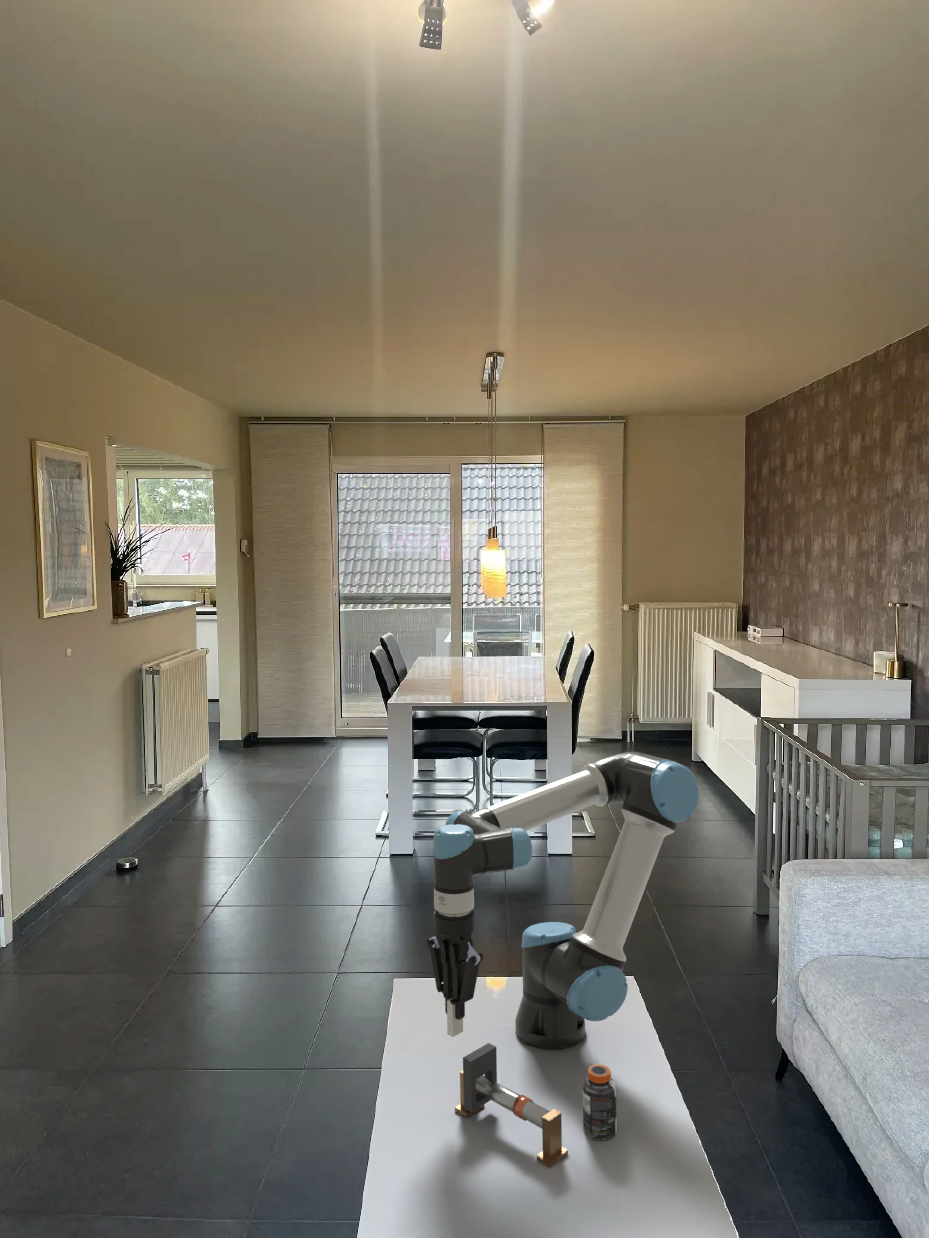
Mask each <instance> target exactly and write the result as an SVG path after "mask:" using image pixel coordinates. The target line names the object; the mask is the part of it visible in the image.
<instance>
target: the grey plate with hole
mask: <svg viewBox="0 0 929 1238" xmlns="http://www.w3.org/2000/svg"><path fill="white" fill-rule="evenodd" d="M497 1057H498V1056H497V1046H496V1045H494V1044H491V1043H489V1042H488V1043H486V1044H484V1045H483V1046H481V1047H478V1049H475V1050H474V1051H471V1052H470V1053H469V1054H467V1055H465V1056H463V1057H462V1070H463V1090H464V1108H465V1109H467V1110H469V1111H470V1112H473V1111H475V1110H476V1109H478V1108H479V1107H481V1106H482V1105H484V1106H485V1105H486V1104H487V1103H489V1102H490V1101H491V1100H490V1099H488V1098H486V1097H485V1096H483V1095H481V1094H479V1093H476V1079H477V1078H479V1077H481V1076H482V1075H484V1076H486V1077H487V1078H489V1079H491V1080H493V1081H495V1082H497V1083H498V1068H497V1066H498V1065H497V1060H498V1059H497Z"/></svg>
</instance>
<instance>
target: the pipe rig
mask: <svg viewBox="0 0 929 1238" xmlns="http://www.w3.org/2000/svg"><path fill="white" fill-rule="evenodd" d="M459 1092H460V1093H459V1094H460V1095H459V1097H460V1099H459V1101H460V1103H459V1104H457V1105H455V1106H454V1112H456V1113H457V1114H459V1115H461V1116H462V1117H464V1118H465V1119H467V1118H469V1117H470V1116H472V1115H473V1114H475V1113H476V1112H479V1110H481V1109H483V1108H484V1107H485V1104H484V1105H482V1106H481V1107H479V1108H478V1109H476V1110H475V1111H473V1112H470V1111H469V1110H467V1109H465V1108H464V1090H463V1069H462V1070H461V1071H459ZM476 1093H479V1094H481V1095H483V1096H485V1097H486V1098H488V1099H490V1101H491V1102H493V1103H495V1104H497V1105H498V1106H500V1107H502V1108H504V1109H506V1110H507V1111H510V1112H511V1113H513V1115H514V1116H516V1117H517V1118H519V1119H521V1120H523V1121H528V1122H529V1123H531V1124H532V1125H535V1126H536V1127H538V1128H539V1129H541V1130H542V1131H541V1132H542V1134H541V1135H542V1140H541V1141H542V1151H540V1152H539V1153H538V1154H537V1155H536V1161H538V1162H539V1163H541V1164H542V1165H544V1166H546V1167H547V1168H549V1169H551V1168H553V1167H554V1166H556V1164H558V1163H559V1162H561V1160H563V1159H564V1158H565V1157H567V1156H568V1155H569V1149H567V1148H565V1147H563V1138H562V1137H563V1136H562V1135H563V1133H562V1131H563V1130H562V1124H563V1123H562V1111H559V1110H557V1109H556V1108H553V1109H551V1110H549V1109H547V1108H544V1107H543V1106H541V1105H539V1104H537V1103H536V1102H534V1100H533V1099H532V1098H530V1097H528V1096H525V1094H519V1093H517V1092H516V1091H513V1090H512V1089H509V1088H507V1087H506V1086H504V1085H502V1084H501V1083H499V1082H498V1081H497V1082H495V1081H493V1080H491V1079H489V1078H487V1077H486V1076H485V1074H484V1075H482V1076H481V1077H479V1078H477V1079H476Z"/></svg>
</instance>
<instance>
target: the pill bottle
mask: <svg viewBox="0 0 929 1238" xmlns="http://www.w3.org/2000/svg"><path fill="white" fill-rule="evenodd" d="M611 1073H612V1072H611V1068H610V1067H608V1066H606V1065H604V1064H598V1063H597V1064H593V1065H590V1066H589V1067H588V1069H587V1076H586V1077H585V1078H584V1080H583V1082H582V1114H583V1115H582V1118H583V1119H582V1122H583V1123H582V1124H583V1132H584V1133H585V1135H586V1136H588V1137H589V1138H591V1139H593V1140H595V1141H608V1140H611V1139H613V1138H614V1137H615V1136H616V1135H617V1131H618V1121H617V1120H618V1119H617V1118H618V1115H617V1112H618V1110H617V1109H618V1108H617V1084H616V1083H615V1081H614V1079H612V1075H611Z"/></svg>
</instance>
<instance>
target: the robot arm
mask: <svg viewBox="0 0 929 1238" xmlns="http://www.w3.org/2000/svg"><path fill="white" fill-rule="evenodd" d="M696 779H697V778H696V776H695V775H694V774H693V772H692V771H691V770H690V768H689V767H687V766H685V765H683V764H681V763H678V762H677V761H675V760H674V761H673V760H671V759H666V758H663V757H658V756H654V755H651V754H647V753H644V752H641V751H640V752H639V751H626V752H621V753H616V754H613V755H609V756H606V757H603V758H601V759H597V760H595V761H592V762H590V763H587V764H584V765H583V767H582V768H581V770H580V771H579V772H577V773H574V774H571V775H569V776H565V777H562V778H561V779H559V780H556V781H553V782H550V783H548V784H545V785H542V786H540V787H537V788H535V789H531V790H529V791H526V792H524V793H521V794H518V795H515V796H513V797H511V798H508V799H506V800H503V801H500V802H498V803H494V804H493V805H489V806H487V807H485V808H482V809H480V810H476V811H474V812H472V811H468V810H463V809H461V810H460V809H459V810H456V811H455V812H453V813H451V814H450V815H449V816H448V818H447V819H446V821H445V824H444V825H442V826H439V827H438V828H436V830H435V831H434V834H433V844H432V845H433V846H432V847H433V848H432V857H433V908H434V912H433V926H434V927H433V929H434V931H435V936H433V937H430V938H428V939H427V940H426V944H427V947H428V949H429V951H430V956H431V962H432V968H433V976H434V981H435V986H436V987H435V988H436V990H437V992H438V993H442V994H443V998H444V1006H445V1007H444V1008H445V1010H444V1011H445V1014H446V1018H447V1019H446V1021H447V1023H446V1026H447V1027H446V1030H447V1033H446V1034H447V1035H448V1036H450V1037H451V1038H454V1037H456V1036H458V1035H459V1034H461V1033H463V1032H464V1018H465V1017H466V1002H468V1001H471V1000H473V999H474V994H475V992H476V991H475V990H476V984H477V980H478V974H479V968H480V964H481V963H482V961H483V960H484V955H483V953H482V952H479V953H478V952H477V951H476V950H475V949H474V942H473V940H472V934H473V932H474V930H475V911H474V909H475V890H474V889H475V888H474V887H475V876H481V875H486V874H487V875H488V874H492V873H498V872H505V871H510V870H511V871H513V870H516V869H519V868H523V867H525V866H528V865H529V864H530V863H531V860H532V856H533V845H532V840H531V837H530V835H529V834H528V832H527V831H531V830H533V829H535V828H538V827H541V826H543V825H545V824H549V823H550V822H553V821H556V820H558V819H560V818H563V817H565V816H568V815H570V814H573V813H575V812H578V811H581V810H583V809H585V808H588V807H591V806H593V805H594V806H596V807H600V808H601V807H604V806H607V805H610V804H614V803H617V804H622V807H621V813H622V815H623V818H624V823H623V825H622V828H621V830H620V833H619V835H618V838H617V841H616V843H615V846H614V849H613V851H612V853H611V856H610V858H609V861H608V864H607V867H606V869H605V872H604V874H603V877H602V880H601V881H600V885H599V888H598V890H597V892H596V894H595V898H594V899H593V903H592V906H591V908H590V911H589V913H588V916H587V919H586V921H585V923H584V927H583V929H581V930H580V931H578V932H577V931H576V930H577V929H576V928H575V927H574V925H572V924H569V923H566V922H562V921H561V922H560V921H558V922H557V921H548V922H547V921H546V922H539V923H536V924H532V925H530V926H529V927H527V928H526V929H524V931H523V933H522V936H521V937H522V938H521V945H520V946H521V961H522V962H521V963H522V969H521V970H522V997H521V1001H520V1004H519V1007H518V1010H517V1013H516V1016H515V1026H514V1027H515V1029H514V1030H515V1035H516V1036H517V1037H518V1039H520V1041H522V1042H524V1043H525V1044H527V1045H529V1046H532V1047H534V1048H535V1047H536V1048H538V1049H544V1050H558V1049H559V1050H560V1049H565V1048H569V1047H573V1046H575V1045H576V1044H579V1043H580V1042H581V1041H582V1040H583V1039H584V1037H585V1036H586V1020H587V1021H590V1022H601V1021H604V1020H606V1019H608V1018H609V1017H611V1016H614V1014H616V1013H617V1012H618V1011H619V1010H620V1008H621V1007H622V1006H623V1004H624V1002H625V1000H626V998H627V995H628V988H629V987H628V983H627V981H628V979H627V977H626V975H625V974H624V972H623V970H624V968H625V967H624V966H625V965H626V962H627V957H626V955H625V952H624V949H623V948H624V945H625V943H626V940H627V937H628V934H629V932H630V930H631V927H632V925H633V921H634V918H635V916H636V913H637V911H638V907H639V905H640V902H641V900H642V897H643V895H644V892H645V889H646V886H647V884H648V881H649V879H650V876H651V874H652V871H653V869H654V865H655V863H656V860H657V858H658V854H659V852H660V850H661V846H662V844H663V842H664V839H665V837H666V836H669V835H671V834H674V833H675V831H676V829H677V826H678V823H682V822H685V821H686V820H688V818H691V817H692V815H694V813H695V812H696V809H697V806H698V803H699V798H700V789H699V784H698V782H697V781H696Z"/></svg>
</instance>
